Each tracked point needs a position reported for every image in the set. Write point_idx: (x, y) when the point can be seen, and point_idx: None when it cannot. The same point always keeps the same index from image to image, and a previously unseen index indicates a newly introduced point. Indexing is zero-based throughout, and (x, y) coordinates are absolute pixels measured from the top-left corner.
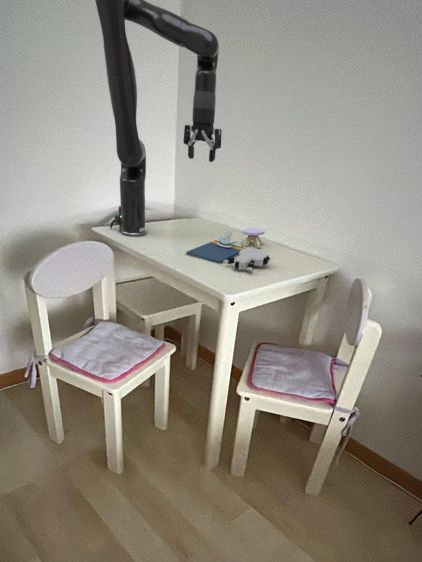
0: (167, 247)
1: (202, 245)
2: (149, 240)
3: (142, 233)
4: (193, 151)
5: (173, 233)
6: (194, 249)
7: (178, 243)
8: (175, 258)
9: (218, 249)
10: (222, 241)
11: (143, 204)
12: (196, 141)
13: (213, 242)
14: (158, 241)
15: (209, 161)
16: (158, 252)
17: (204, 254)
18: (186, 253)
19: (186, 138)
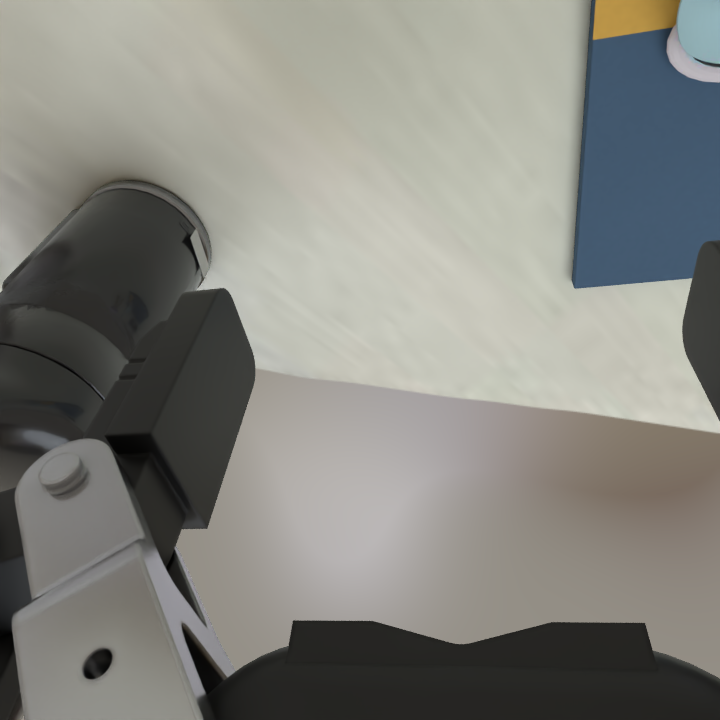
0: (435, 272)
1: (588, 143)
2: (296, 262)
3: (206, 242)
4: (192, 378)
5: (246, 42)
6: (589, 236)
7: (425, 181)
8: (563, 347)
9: (714, 123)
10: (709, 19)
11: (144, 321)
12: (154, 557)
13: (620, 27)
14: (333, 239)
15: (691, 332)
16: (458, 345)
17: (676, 256)
18: (573, 283)
19: (9, 707)
